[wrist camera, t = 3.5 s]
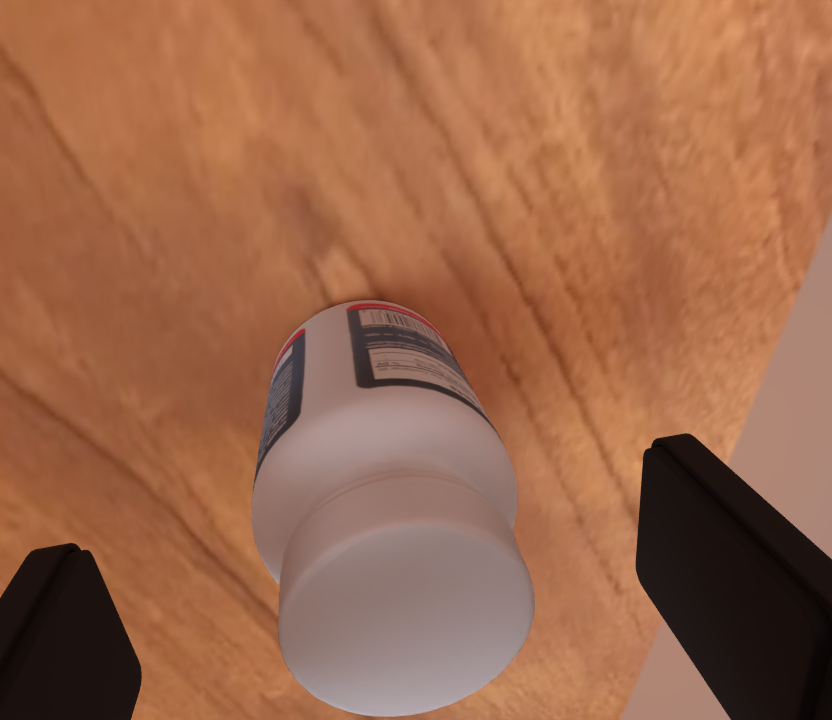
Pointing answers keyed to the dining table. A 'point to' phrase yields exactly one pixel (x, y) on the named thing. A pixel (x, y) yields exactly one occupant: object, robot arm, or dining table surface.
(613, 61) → the dining table surface
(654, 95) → the dining table surface
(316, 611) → the pill bottle
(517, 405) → the dining table surface
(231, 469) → the dining table surface
